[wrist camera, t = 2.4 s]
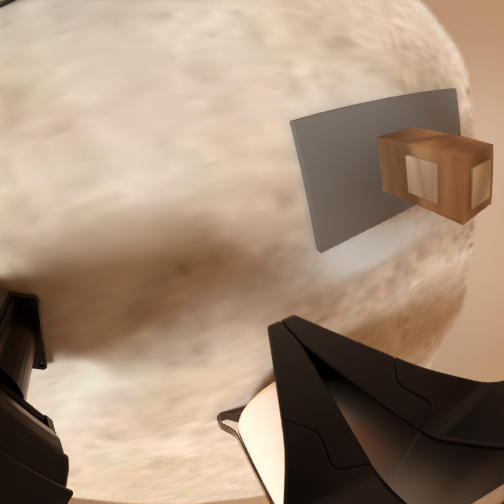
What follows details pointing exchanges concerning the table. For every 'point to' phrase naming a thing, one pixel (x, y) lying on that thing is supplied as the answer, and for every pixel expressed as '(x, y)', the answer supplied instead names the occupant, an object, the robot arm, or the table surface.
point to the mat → (360, 159)
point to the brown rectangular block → (437, 171)
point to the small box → (4, 2)
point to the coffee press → (262, 441)
